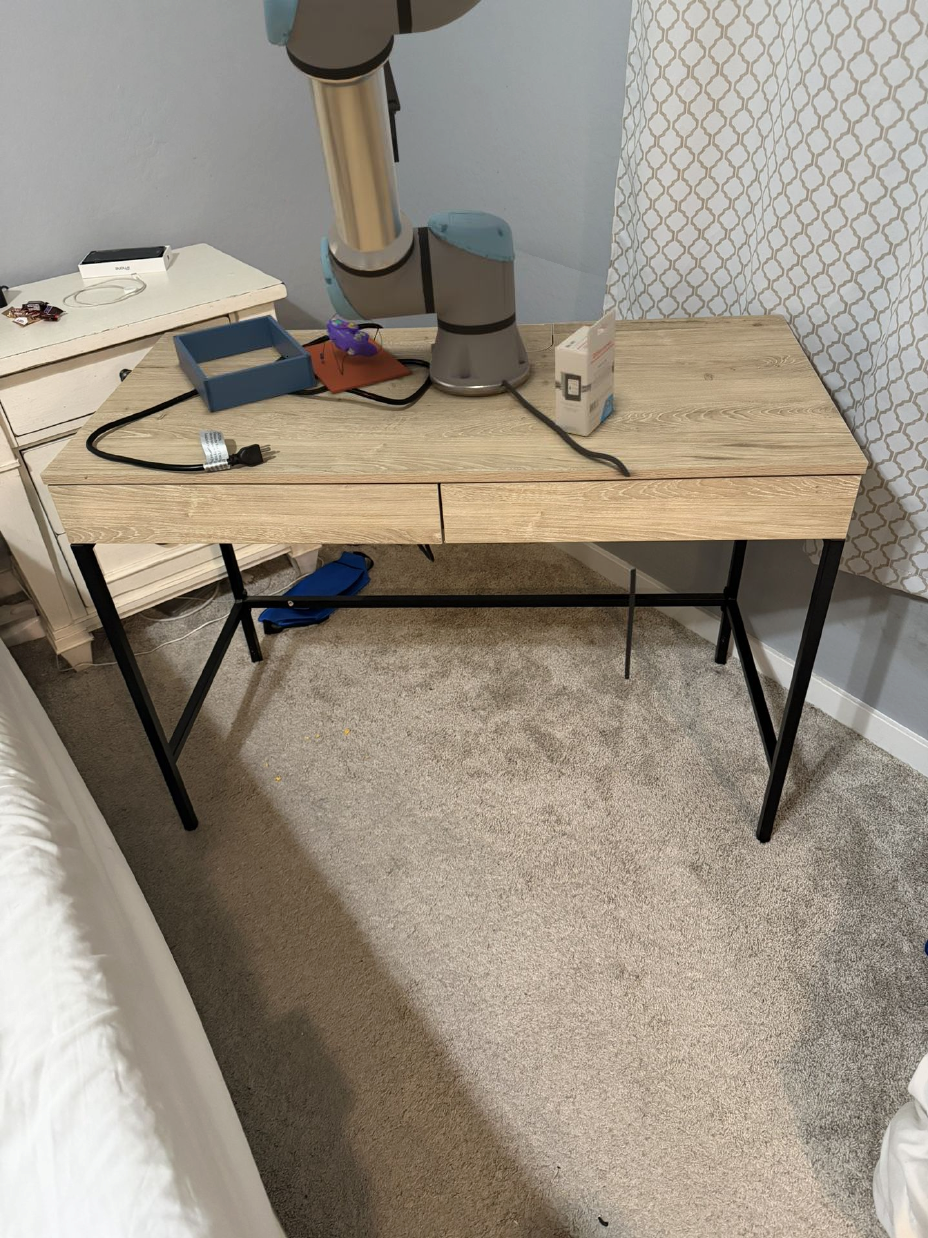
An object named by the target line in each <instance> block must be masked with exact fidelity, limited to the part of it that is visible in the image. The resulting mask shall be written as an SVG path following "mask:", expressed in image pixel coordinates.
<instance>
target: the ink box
mask: <svg viewBox="0 0 928 1238" xmlns="http://www.w3.org/2000/svg"><path fill="white" fill-rule="evenodd" d="M616 316H617V315H616V308H612V309H611V310H610V311H609V312H607V313H605V314H604V315H603V316H602V317H600V318H599V319H598V320H597V321H596V322H595V323H593V324H592V325H591V326H589V325H582V326H581V327H580V328H578V329H577V330H576V331H574V332H573V333H572V334H571V335H570V336H569V337H567V338H566V339H564V340H563V341H561V342H560V343H559V344H558V345H556V346H555V347H554V383H555V385H554V391H555V393H554V397H555V399H554V401H555V402H554V403H555V406H554V407H555V412H554V413H555V416H554V417H555V418H554V419H555V422H554V423H556V425H558V426H559V427H560V428H561V429H562V430H563V431H564V432H565V433H566V434H573V435H577V436H583V437H588V436H589V435H590V434H591V433H592V432H593V431H594V430H595V429H596V428H598V427H599V426H600V424H601V423H603V421H605V419H606V418H608V417H609V415H611V414H612V412H613V402H614V377H615V350H616V319H617V317H616ZM602 326H605V327H604V328H602Z"/></svg>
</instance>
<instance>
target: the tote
mask: <svg viewBox="0 0 928 1238" xmlns="http://www.w3.org/2000/svg"><path fill="white" fill-rule="evenodd" d="M171 336H172V341H173V344H174V348H175V351H176V352H175V353H176V355H177V359H178V363H179V366H180V367H181V369H182V370H183V372H184V374H185V375H186V377H187V378H188V380H189V382H190V383H191V385H192V386H193V388H194V389H195V390H196V392H197V394H198V395H199V397H200V398H201V400H202V401H203V403H204V404H205V406H206V407H207V409H208V410H209V412H210V413H215V412H219V411H223V410H227V409H230V408H235V407H239V406H243V405H246V404H251V403H254V402H259V401H262V400H267V399H271V398H275V397H279V396H282V395H286V394H291V393H295V392H299V391H303V390H307V389H311V388H315V387H317V382H316V376H315V375H314V370H313V365H312V359H311V355H310V354H309V353H308V352H307V351H306V350H305V349H304V347H303V346H302V345H301V343H299V342H298V340H297V339H295V338H294V336H292V335H291V334H290V333H289V332H288V330H286V328H284V326H282V325H281V324H280V322H279V321H277V320H276V318H275V317H273V316H272V314H267V315H262V316H258V317H257V316H256V317H252V318H249V319H244V320H239V321H233V322H229V323H225V324H221V325H217V326H212V327H207V328H204V329H203V328H202V329H198V330H194V331H190V332H185V333H180V334H177V335H171ZM269 347H274V349H275V350H276V351H277V352H278V353H279V354H280V355H281V356H282V357H283V359H281V360H277V361H274V362H269V363H265V364H261V365H257V366H256V365H255V366H251V367H248V368H243V369H240V370H235V371H231V372H227V373H223V374H218V375H215V376H214V375H213V376H209V377H207V376H206V375H205V373H204V372H203V370H202V369H201V368H200V366H199V364H200V363H204V362H208V361H212V360H218V359H221V358H226V357H229V356H234V355H238V354H243V353H246V352H247V353H248V352H251V351H255V350H260V349H264V348H269ZM287 356H288V357H287Z"/></svg>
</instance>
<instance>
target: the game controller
mask: <svg viewBox="0 0 928 1238" xmlns="http://www.w3.org/2000/svg"><path fill="white" fill-rule="evenodd" d="M336 315H338V314H337V312H336V313H335V314H334V315H333V316H332V318H329V321H328V323H326V328H325V336H324V342H323V343H324V346H325V342H326V340H327V336H328V338H329V340H330V341H332V342H333V343H334V344H335V346H336V347H337V348H338V349H341V350H344V351H346V352H348V354H347V355H349V354H351V355H352V356H359V355H361V356H365V357H370V356H374V355H376V354H377V353H378V352H379V351H380V350H381V348H380V350H379V351H378V352H377V348H376V347H375V346H374V345H373V344H371V343H369V342H368V339H369V337H370V335H369V333H367V332H366V331H363V330H359V325H358V324H356V323H355V322H350V321H348V322H347V321H344V320H343V319H340V318H336ZM334 317H335V318H334ZM372 324H373V325H374V326H375V327H376V329H377V331H378V333H379V336H380V340H381V342H380V343H381V344H380V346H381V347H382V348H383V338H382V335H381V332H380V330H379V328H378V327H377V325H376V324H375V322H372ZM332 348H333V345H332ZM333 352H334V350H333ZM323 354H324V348H323ZM323 354H320V358H321V359H323V358H324V356H323ZM334 355H335V353H334ZM347 355H345V356H344V358H345V357H346V356H347ZM335 358H336V356H335ZM344 358H343V360H344ZM336 361H337V359H336ZM337 364H338V362H337ZM338 367H339V365H338ZM339 369H340V368H339ZM340 372H341V370H340ZM341 374H342V375H343V362H342V372H341Z"/></svg>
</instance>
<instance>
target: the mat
mask: <svg viewBox="0 0 928 1238" xmlns="http://www.w3.org/2000/svg"><path fill="white" fill-rule="evenodd" d="M324 342H325V346H324ZM324 342H321V343H317V344H312V345H308V346H304V347H303V348H304V349H305V350H306V351H307V352H308V353H309V354H310V355H311V359H312V365H313V370H314V376H315V378H317V379H318V380H319V381H320V382H321V383H322V384H323V385H324V387H326V389H327V390H328V391H330V393H331V394H333V395H334V394H338V393H342V392H345V391H350V390H353V389H359V388H361V387H365V386H369V385H373V384H377V383H381V382H386V381H389V380H393V379H397V378H400V377H403V376H409V375H411V374H412V371H410V369H408V368H407V367H405V365H403V363H401V362H400V361H399V360H397V359H396V358H395V357H394V356H393V355H392V354H390V353H389V352H388V351H387V350H386V349H384V348H383V346H382V347H381V345H380V344H378V342H376V341H375V340H374V339H372V338H371V337H370V336H369V339H368V342H369V343H371V344H373V345H374V346H375V347H376V348H377V352H378V351H379V350H380V348H381V350H380V351H379V352H378V353H377V354H376V355H374V356H370V357H365V356H361V355H359V356H352V355H351V354H349V355H347V354H348V352H346V351H344V350H341V349H338V348H337V347H336V346H335V344H334V343H333V342H332V341H331V340H330V341H324ZM332 345H333V348H332ZM323 348H324V354H323ZM333 350H334V352H333ZM334 353H335V355H334ZM320 354H323V356H324V358H323V359H321V358H320ZM345 355H347V356H346V357H345V358H344V356H345ZM335 356H336V358H335ZM343 358H344V360H343ZM336 359H337V361H336ZM337 362H338V364H337ZM342 362H343V375H342V374H341V372H342ZM338 365H339V367H338ZM339 368H340V369H339ZM340 370H341V372H340Z"/></svg>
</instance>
